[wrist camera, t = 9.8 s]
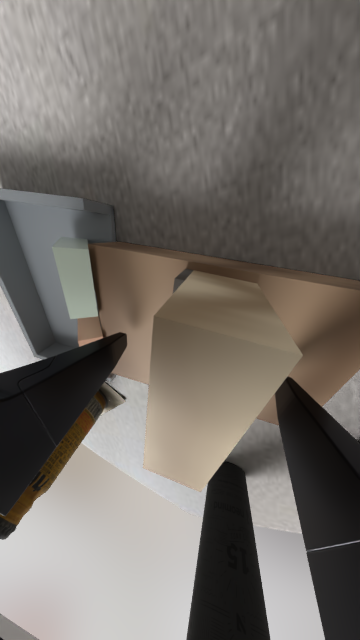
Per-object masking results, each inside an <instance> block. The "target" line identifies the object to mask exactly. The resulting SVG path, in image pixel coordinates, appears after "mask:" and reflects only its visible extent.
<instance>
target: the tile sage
mask: <svg viewBox="0 0 360 640" xmlns="http://www.w3.org/2000/svg"><path fill="white" fill-rule="evenodd" d="M52 249H53V253H54V257H55V261H56V265H57V269H58V273H59V277H60V281H61V285H62V289H63V293H64V297H65V300H66V304H67V308H68V312H69V316H70V319H77V318H87V317H97V316H98V311H97V303H96V295H95V288H94V281H93V274H92V268H91V262H90V255H89V249H88V240H87V239H80V238H70V237H60V239H59V240H58V241H57V242H56V243H55V244H54V245H53V246H52Z"/></svg>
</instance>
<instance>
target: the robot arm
mask: <svg viewBox="0 0 360 640" xmlns="http://www.w3.org/2000/svg"><path fill="white" fill-rule="evenodd" d="M126 347H127V334H126V333H122V332H118V333H116V334H113V335H110V336H107V337H105V338H102V339H99V340H96V341H94V342H91V343H88V344H85V345H83V346H80V347H77V348H74V349H72V350H69V351H66V352H63V353H60V354H58V355H57V356H56V355H55V356H52V357H49V358H47V359H44V360H41V361H38V362H35V363H32V364H29V365H26V366H23V367H19V368H16V369H13V370H9V371H6V372H3V373H0V514H1V515H3V516H6V515H7V514H8V512H9V511H10V510H11V509H12V507H13V506H14V505H15V503H16V502H17V501H18V499H19V498H20V496H21V495H22V494H23V492H24V491H25V490H26V488H27V487H28V486H29V484H30V483H31V481H32V480H33V479H34V477H35V476H36V475H37V473H38V472H39V471H40V469H41V468H42V466H43V465H44V464H45V462H46V461H47V460H48V458H49V457H50V456H51V454H52V453H53V451H54V450H55V449H56V447H57V446H58V444H59V443H60V442H61V440H62V439H63V438H64V436H65V435H66V434H67V432H68V431H69V429H70V428H71V427H72V425H73V424H74V423H75V421H76V420H77V419H78V417H79V416H80V414H81V413H82V412H83V410H84V409H85V408H86V406H87V405H88V404H89V402H90V401H91V399H92V398H93V397H94V395H95V394H96V393H97V391H98V390H99V389H100V387H101V386H102V384H103V383H104V382H105V380H106V379H107V378H108V376H109V375H110V374H111V372H112V371H113V369H114V368H115V366H116V365H117V363H118V361H119V360H120V358H121V356H122V354H123V353H124V351H125V349H126ZM275 400H276V409H277V418H278V423H279V428H280V432H281V437H282V441H283V446H284V451H285V455H286V460H287V465H288V469H289V474H290V478H291V483H292V488H293V492H294V497H295V501H296V506H297V511H298V515H299V520H300V525H301V529H302V534H303V538H304V543H305V548H306V551H307V558H308V562H309V567H310V571H311V576H312V581H313V585H314V590H315V595H316V599H317V603H318V608H319V613H320V617H321V622H322V626H323V631H324V636H325V640H360V443H359V442H358V441H357V440H356V439H355V438H354V437H353V436H351V435H350V434H349V433H348V432H347V431H346V430H345V429H344V428H343V427H342V426H341V425H340V424H339V423H338V422H337V421H336V420H335V419H334V418H333V417H332V416H331V415H330V414H329V413H328V412H327V411H326V410H325V409H324V408H323V407H321V406H320V405H319V404H318V403H317V402H316V401H315V400H314V399H313V398H312V397H311V396H310V395H309V394H308V393H307V392H306V391H305V390H304V389H303V388H302V387H301V386H300V385H299V384H298V383H297V382H296V381H295V380H294V379H293V378H291V377H288V376H287V378H286V379H285V380H284V382H283V383H282V384H281V386H280V387H279V388H278V390H277V391H276V392H275ZM0 640H39V639H37V638H36V637H34V636H33V635H31V634H30V633H28V632H27V631H25V630H24V629H22V628H21V627H19V626H17V625H16V624H15V623H13V622H12V621H10V620H9V619H7V618H6V617H4V616H3V615H1V614H0Z"/></svg>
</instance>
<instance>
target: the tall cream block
mask: <svg viewBox="0 0 360 640" xmlns="http://www.w3.org/2000/svg"><path fill="white" fill-rule="evenodd" d="M302 356H303V354H302V353H301V351H300V350H299V348H298V347H297V345H296V343H295V342H294V340H293V339H292V337H291V336H290V334H289V333H288V331H287V329H286V328H285V326H284V325H283V323H282V322H281V320H280V318H279V317H278V315H277V314H276V312H275V311H274V309H273V308H272V306H271V304H270V303H269V301H268V300H267V298H266V297H265V295H264V293H263V292H262V290H261V289H260V287H259V286H258V284H257V283H252V282H247V281H243V280H238V279H233V278H228V277H224V276H219V275H214V274H209V273H205V272H200V271H195V270H190V269H185V270H184V271H183V272H181V273H180V274H179V275H178V276H177V277H176V278H175V279H174V287H173V294H172V296H171V297H170V298H169V299H168V300H167V301H166V302H165V304H164V305H163V306H162V307H161V308H160V309H159V310H158V311H157V313H156V314H155V315H154V318H153V332H152V346H151V361H150V375H149V390H148V404H147V419H146V433H145V448H144V462H143V468H144V469H146V470H149V471H151V472H153V473H156V474H158V475H161V476H163V477H165V478H168V479H170V480H173V481H175V482H177V483H180V484H182V485H185V486H187V487H189V488H192V489H194V490H197V491H199V492H201V491H202V490H203V488H204V487H205V486H206V484H207V483H208V482H209V480H210V479H211V478H212V476H213V475H214V474H215V472H216V471H217V470H218V468H219V467H220V466H221V464H222V463H223V462H224V460H225V459H226V458H227V456H228V455H229V454H230V452H231V451H232V450H233V448H234V447H235V446H236V444H237V443H238V442H239V440H240V439H241V438H242V436H243V435H244V434H245V432H246V431H247V430H248V428H249V427H250V426H251V424H252V423H253V422H254V420H255V419H256V418H257V416H258V415H259V414H260V412H261V411H262V410H263V408H264V407H265V406H266V404H267V403H268V402H269V400H270V399H271V398H272V396H273V395H274V394H275V392H276V391H277V390H278V388H279V387H280V386H281V384H282V383H283V382H284V380H285V379H286V378H287V376H288V375H289V374H290V372H291V371H292V369H293V368H294V367H295V365H296V364H297V363H298V361H299V360H300V359H301V357H302Z"/></svg>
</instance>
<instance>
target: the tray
mask: <svg viewBox="0 0 360 640" xmlns="http://www.w3.org/2000/svg"><path fill="white" fill-rule="evenodd" d="M60 237H70V238H80V239H87V240H88V244H92V243H106V242H116V234H115V222H114V209H113V206H111V205H107V204H103V203H99V202H95V201H91V200H88V199H84V198H76V197H68V196H60V195H51V194H43V193H35V192H26V191H18V190H10V189H1V188H0V286H1V288H2V290H3V292H4V294H5V296H6V298H7V300H8V302H9V305H10V307H11V309H12V311H13V313H14V315H15V317H16V319H17V321H18V323H19V325H20V327H21V330H22V332H23V334H24V336H25V338H26V340H27V342H28V344H29V346H30V348H31V350H32V352H33V355H34V357H37V358H40V359H43V360H44V359H47V358H49V357H52V356H55V355H56V356H57V355H58V354H60V353H63V352H66V351H69V350H72V349H74V348H77V347H79V344H78V318H77V319H70V316H69V312H68V308H67V304H66V300H65V297H64V293H63V289H62V285H61V281H60V277H59V273H58V269H57V265H56V261H55V257H54V253H53V249H52V246H53V245H54V244H55V243H56V242H57V241H58V240H59V239H60ZM93 281H94V280H93ZM94 288H95V286H94ZM95 295H96V292H95ZM96 303H97V298H96ZM97 311H98V317H99V321H100V316H99V310H98V304H97ZM100 326H101V322H100ZM101 330H102V329H101ZM115 377H116V374H113V373H111V374H110V375H109V376H108V378H107V379H106V380H108V381H111V382H112V381H113V379H114V378H115Z"/></svg>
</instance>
